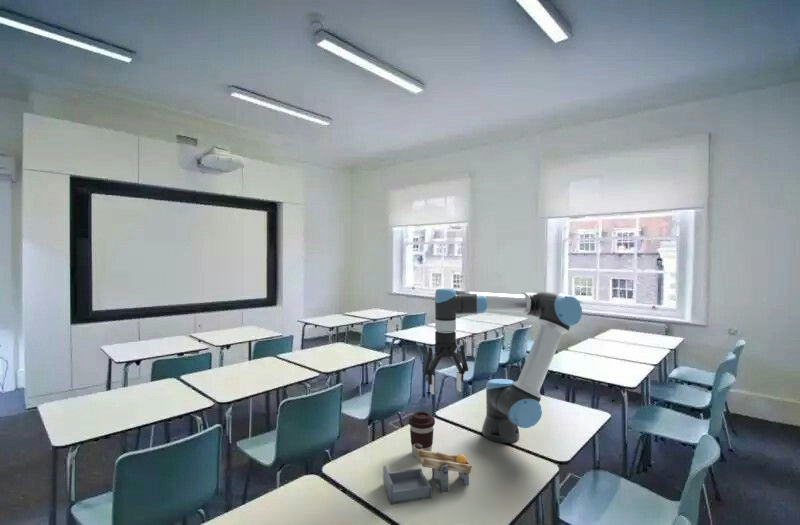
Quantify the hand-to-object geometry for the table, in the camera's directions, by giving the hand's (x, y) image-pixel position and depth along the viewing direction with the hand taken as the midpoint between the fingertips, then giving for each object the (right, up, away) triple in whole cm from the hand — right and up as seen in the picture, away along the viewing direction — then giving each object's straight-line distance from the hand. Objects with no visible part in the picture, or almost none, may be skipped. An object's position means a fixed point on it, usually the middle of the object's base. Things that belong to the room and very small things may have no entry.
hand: (445, 391), depth 138 cm
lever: (-3, -19, -10) cm, 22 cm away
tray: (-15, -26, -17) cm, 34 cm away
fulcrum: (-4, -26, -14) cm, 30 cm away
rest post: (+5, -26, -12) cm, 29 cm away
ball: (+4, -18, -12) cm, 23 cm away
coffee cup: (-8, -26, +5) cm, 28 cm away
